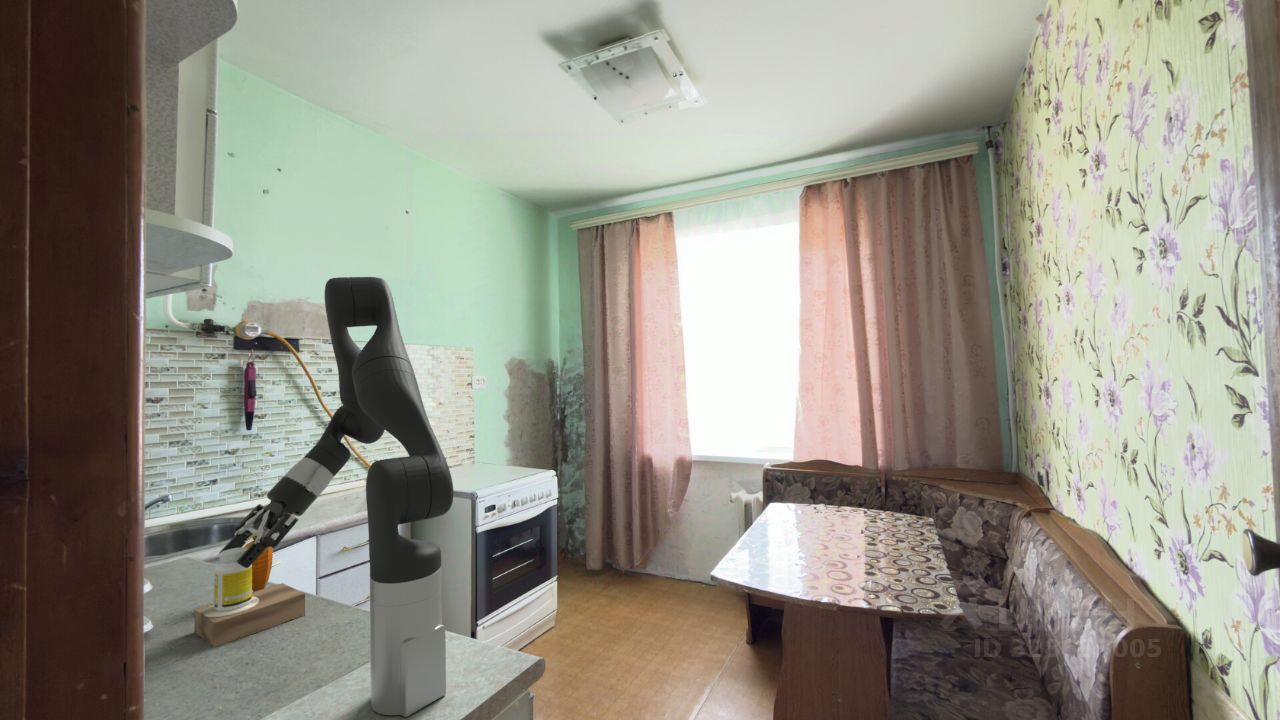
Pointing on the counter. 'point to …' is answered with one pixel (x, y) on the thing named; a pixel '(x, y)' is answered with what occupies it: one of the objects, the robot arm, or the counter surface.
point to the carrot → (261, 567)
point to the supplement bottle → (232, 581)
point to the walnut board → (250, 615)
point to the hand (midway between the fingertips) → (232, 561)
